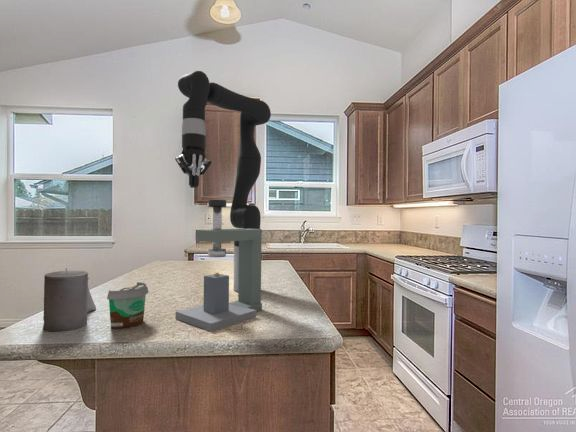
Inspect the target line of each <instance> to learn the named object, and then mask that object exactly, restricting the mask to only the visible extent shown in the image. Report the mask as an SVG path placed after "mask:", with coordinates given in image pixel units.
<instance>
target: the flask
mask: <svg viewBox="0 0 576 432" xmlns="http://www.w3.org/2000/svg"><path fill="white" fill-rule="evenodd" d="M89 279H90V277H89V276H88V280H89ZM95 310H97V306H96V304H95V301H94V299H93V296H92V293H91V292H90V287H89V286H88V294H87V313H88V312H89V313H90V312H92V311H95Z"/></svg>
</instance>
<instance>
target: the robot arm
mask: <svg viewBox="0 0 576 432" xmlns="http://www.w3.org/2000/svg"><path fill="white" fill-rule="evenodd" d="M177 87H178V90H179V92H180V93H181V94H182V95H183V96H185V97H186V98H187V99H188V100H186V101H185V102H184V103H183V104H182V124H181V149H182V151H181V153H180V155H179V156H176V157H175V158H174V160H175V162H176V163H177V165H178V166H179V168H180V170H181V171H182V173H183V174H185V175H187V176H188V185H189V187H190V188H193V189H194V188H195V189H197V188H198V187H199V184H200V180H199V179H200V176H201V175H204V174H205V173H206V172H207V170H208V168H209V167H210V166H211V165H212V161H211V160H208V159H207V157H206V152H205V151H206V148H207V147H206V144H207V143H206V142H207V141H206V137H207V136H206V132H207V131H206V130H207V127H206V107H207V103H209V104H211V105H214V106H216V107H218V108H221V109H224V110H227V111H235V112H239V113H240V115H239V145H238V146H239V147H238V155H237V162H236V163H237V165H236V178H235V185H234V192H233V197H232V202H231V208H230V210H229V211H230V212H229V220H230V225H232V227H233V228H234V229H240V228H241V229H261V221H262V220H261V216H262V215H261V210H260V209H259V207H258V206H257V205H255V204H248V199H249V195H250V192H251V190H252V188H253V187H254V185H255V184H256V182H257V180H258V178H259V176H260V173H261V163H262V156H261V153H260V150H259V148H258V146H257V144H256V141H255V128H256V126H259V125H264V124H267V123H268V122H269V121H270V120H271V116H272V115H271V114H272V113H271V112H272V111H271V108H270V106H269V104H267V103H266V102H265V101H264V100H261V99H256V98H254V97H253V98H252V97H249V96H246V95H244V94H240V93H238V92H235V91H232V90H230V89H228V88H227V87H224V86H222V85H221V84H219V83H216V82H212V81H211V82H210V79H209V77H208V75H207V74H206V73H205V72H204V71H202V70H195V71H192V72H189V73H187V74H184V75H182V76H180V77H179V79H178V81H177ZM238 286H239V241H233V291H235V292H238Z"/></svg>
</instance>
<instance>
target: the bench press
mask: <svg viewBox="0 0 576 432" xmlns="http://www.w3.org/2000/svg"><path fill="white" fill-rule="evenodd" d="M262 231H263V230H262V229H261V228H260V229H243V228H221V230H216V231H215V230H213V228H212V229H210V228H209V229H195V241H197V242H198V241H199V242H206V243H207V242H208V243H213V242H221V243H225V242H226V243H228V242H234V241H239V286H238V295H237V296H238V299H237V300H236V301H231V302H229V311H226V312H222V313H218V314H212V313H208V312H205V311H204V304H201V305H197V306H194V307H193V306H192V307H188V308H184V309H180V310H175V319H176V320H179V321H180V322H184V323H186V324H189V325H192V326H194V327H197V328H200V329H202V330H206V331H208V332H213V331H217V330H221V329H224V328H226V327H230V326H232V325H236V324H238V323H242V322H246V321H249V320H251V319H255V318H257V312H259V311H260V312H261V311H262V310H263V303H262V240H263V239H262V237H263V236H262V235H263V233H262Z"/></svg>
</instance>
